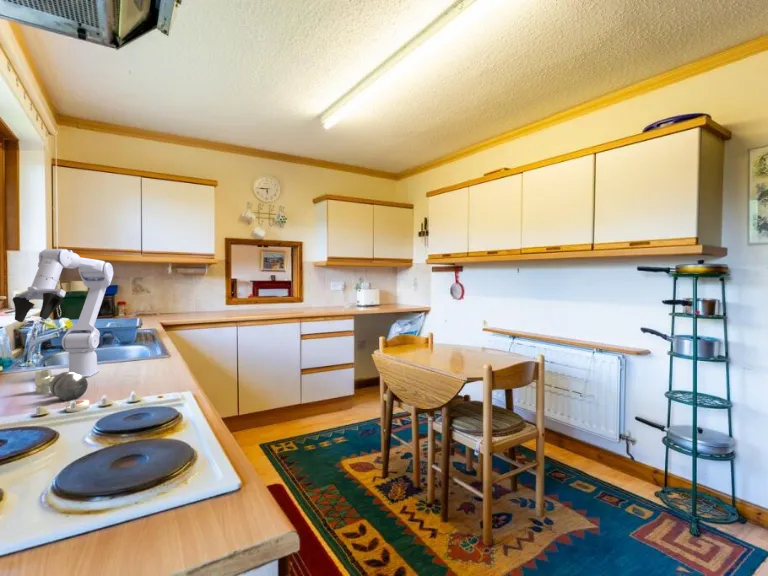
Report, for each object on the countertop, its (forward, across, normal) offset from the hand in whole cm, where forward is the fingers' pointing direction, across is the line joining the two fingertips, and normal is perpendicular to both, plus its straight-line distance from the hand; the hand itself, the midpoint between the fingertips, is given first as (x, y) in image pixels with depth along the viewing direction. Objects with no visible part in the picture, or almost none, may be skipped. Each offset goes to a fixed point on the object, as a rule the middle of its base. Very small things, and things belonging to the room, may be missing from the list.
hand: (30, 319), depth 121 cm
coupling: (+23, +12, +10) cm, 27 cm away
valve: (+18, +1, +15) cm, 24 cm away
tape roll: (+28, +21, +2) cm, 36 cm away
